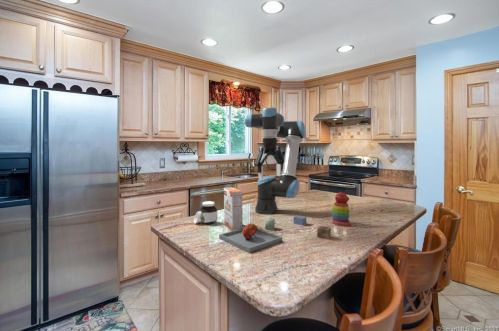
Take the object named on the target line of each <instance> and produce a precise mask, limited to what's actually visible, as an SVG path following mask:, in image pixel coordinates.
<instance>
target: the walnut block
mask: <svg viewBox="0 0 499 331" xmlns="http://www.w3.org/2000/svg"><path fill="white" fill-rule="evenodd" d="M316 230H317V232H316V233H317V235H316V237H317V238H319V239H324V240H329V239H330V238H331V236H332V228H331V227H330V226H324V225H320V226H319V227H317V229H316Z"/></svg>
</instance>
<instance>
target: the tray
mask: <svg viewBox="0 0 499 331" xmlns="http://www.w3.org/2000/svg"><path fill="white" fill-rule="evenodd" d="M243 229H244V227H243V228H242V229H238V230H234V231H231V230H230V231H227V232H224V233H219V234H218V239H219V240H221V241H224V242H226V243H227V244H230V245H232V246H234V247H236V248H238V249H240V250H242V251H244V252H247V253H249V254H251V253H253V252H257V251H259V250H262V249H265V248H267V247H270V246H273V245H276V244H279V243H282V242H283V236H280V235H277V234H274V233H272V232H269V231H265V230H263V229H260V228H258V230H257V231H256V232H255V234H254V235H255V236H256V237H257V238H258V239H259V240H258V239H257V238H256V237H255V236H254V235H253V236H252V237H251V238H250V239H246V238H245V237H244V236H243V234H242V231H243Z"/></svg>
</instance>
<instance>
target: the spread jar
mask: <svg viewBox="0 0 499 331" xmlns="http://www.w3.org/2000/svg"><path fill="white" fill-rule="evenodd" d="M217 221H218V209H217V207H216V205H215V201H209V200H208V201H207V200H206V201H204V202H202V206H201V207H200V208H199V211H196V212H195V215H194V219H193V222H194V224H199V222H201V224H203V225H214V224H215V223H216V222H217Z"/></svg>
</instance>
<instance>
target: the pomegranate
mask: <svg viewBox="0 0 499 331" xmlns="http://www.w3.org/2000/svg"><path fill="white" fill-rule="evenodd" d="M242 226H243V228H244V229H243V231H242V234H243V236H244V237H245V238H246V239H250V238H251V237H252V236H253V235H254V234H255V232H256V231H257V230H258V229H259V228H258V226H257V225H256V224H254V223H248V224H246V225H245V224H243V225H242ZM254 236H255V235H254ZM255 237H256V236H255ZM256 238H257V237H256ZM257 239H258V238H257ZM258 240H259V239H258Z"/></svg>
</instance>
